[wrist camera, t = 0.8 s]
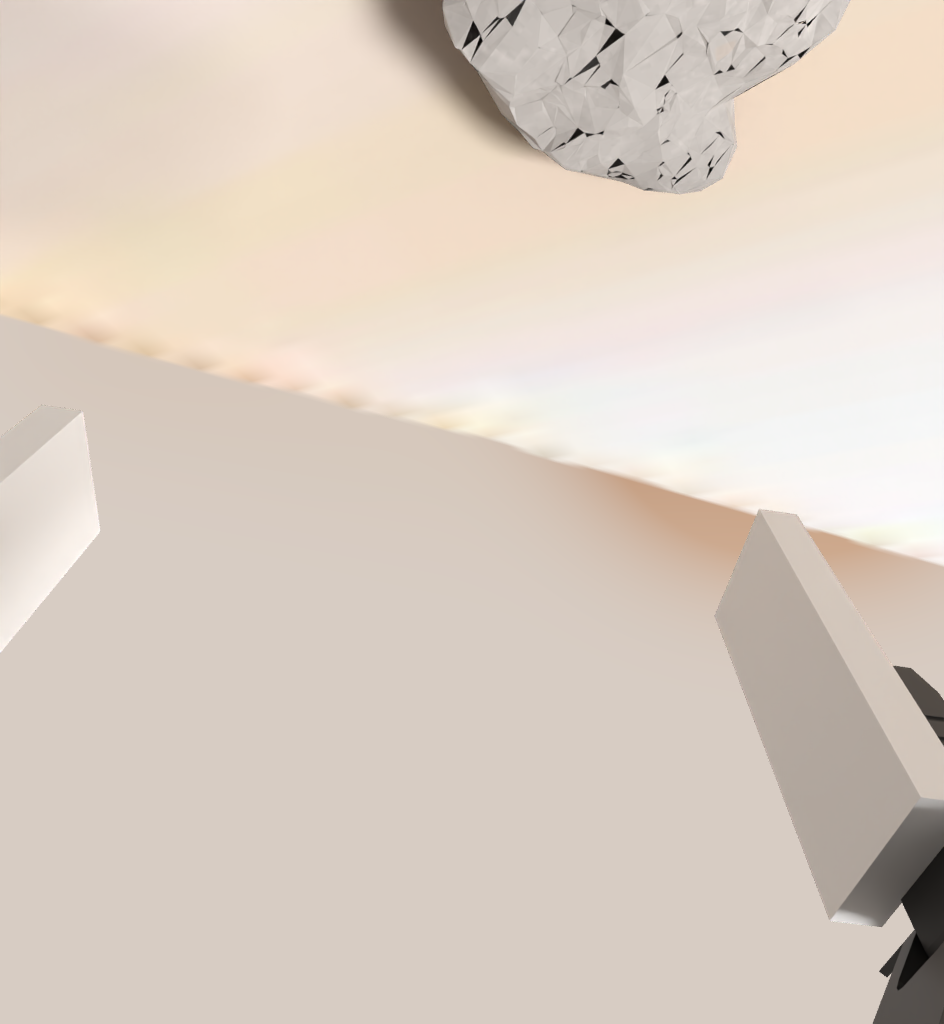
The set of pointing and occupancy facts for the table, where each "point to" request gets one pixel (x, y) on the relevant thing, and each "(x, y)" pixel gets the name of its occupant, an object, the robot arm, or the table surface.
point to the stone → (634, 76)
